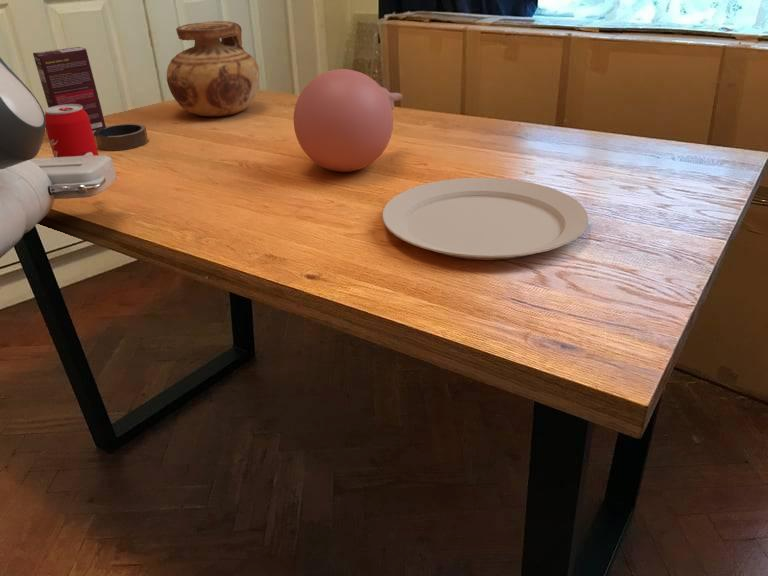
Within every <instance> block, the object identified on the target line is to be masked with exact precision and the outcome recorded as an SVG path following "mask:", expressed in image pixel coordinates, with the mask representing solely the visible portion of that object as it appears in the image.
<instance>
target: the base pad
mask: <svg viewBox="0 0 768 576" xmlns="http://www.w3.org/2000/svg"><path fill="white" fill-rule="evenodd" d="M93 135H94V139H95V143H96V147H97V150H100V151H106V152H114V151H115V152H116V151H118V152H119V151H127V150H131V149H136V148H139V147H141V146H144V145H146V144H147V143H148V142H149V137H148V132H147V126H146V125H144V124H140V123H120V124H119V123H118V124H113V125H107V126H106V127H104V128H101V129H98V130H96V131H95V132H94V134H93Z"/></svg>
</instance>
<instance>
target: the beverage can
mask: <svg viewBox="0 0 768 576" xmlns="http://www.w3.org/2000/svg"><path fill="white" fill-rule="evenodd" d="M44 114H45V118H46V127H45V132H46V134H47V138H48V141H49V145H50V148H51V152H52V155H53V157H71V156H78V155H79V154H80V153H84V152H92V153H93V155H99V151H98V148H97V146H96V143H95V139H94V135H93V131H92V127H91V123H90V120H89V116H88V114H87V113H86V112H85V110H84V109H83V107H82V105H80V104H64V105H58V106H53V107H50V108H48V107H47V108H45V109H44Z"/></svg>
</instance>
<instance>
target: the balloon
mask: <svg viewBox="0 0 768 576" xmlns="http://www.w3.org/2000/svg"><path fill="white" fill-rule="evenodd" d="M403 97H404V96H403V94H402V93H400V92H396V91H395V92H389V90H388V89H387V88H386V87H384V86H381V85H380V84H379V83H378V82H376V80H374V79H373V78H372V77H370V76H369V75H367V74H365V73H362V72H360V71H358V70H353V69H349V68H348V69H347V68H338V69H331V70H328V71H325V72H323V73H320V74H319V75H317V76H316V77H314V78H313V79H312V80H310V81H309V82H308V83H307V84H306V85H305V87H303V89H302V90H301V92H300V94H299V96H298V97H297V99H296V103H295V105H294V112H293V129H294V133H295V136H296V140H297V142H298V144H299V146H300V147H301V149H302V151H303V152H304V154H306V156H307V157H308V158H309V159H311V160H312V161H313V162H314V163H315V164H317V165H318V166H320V167H322V168H324V169H327V170H330V171H333V172H340V173H346V172H347V173H348V172H354V171H355V172H356V171H359V170H361V169H364V168H366V167H369V166H370V165H371V164H373V163H374V162H375V161H376V160H378V158H380V157H381V155H382V154H383V153H384V152H385V151H386V148H387V147H388V145H389V143H390V141H391V138H392V134H393V130H394V113H393V110H394V109H395V103H396V102H398V101H402V100H403Z"/></svg>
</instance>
